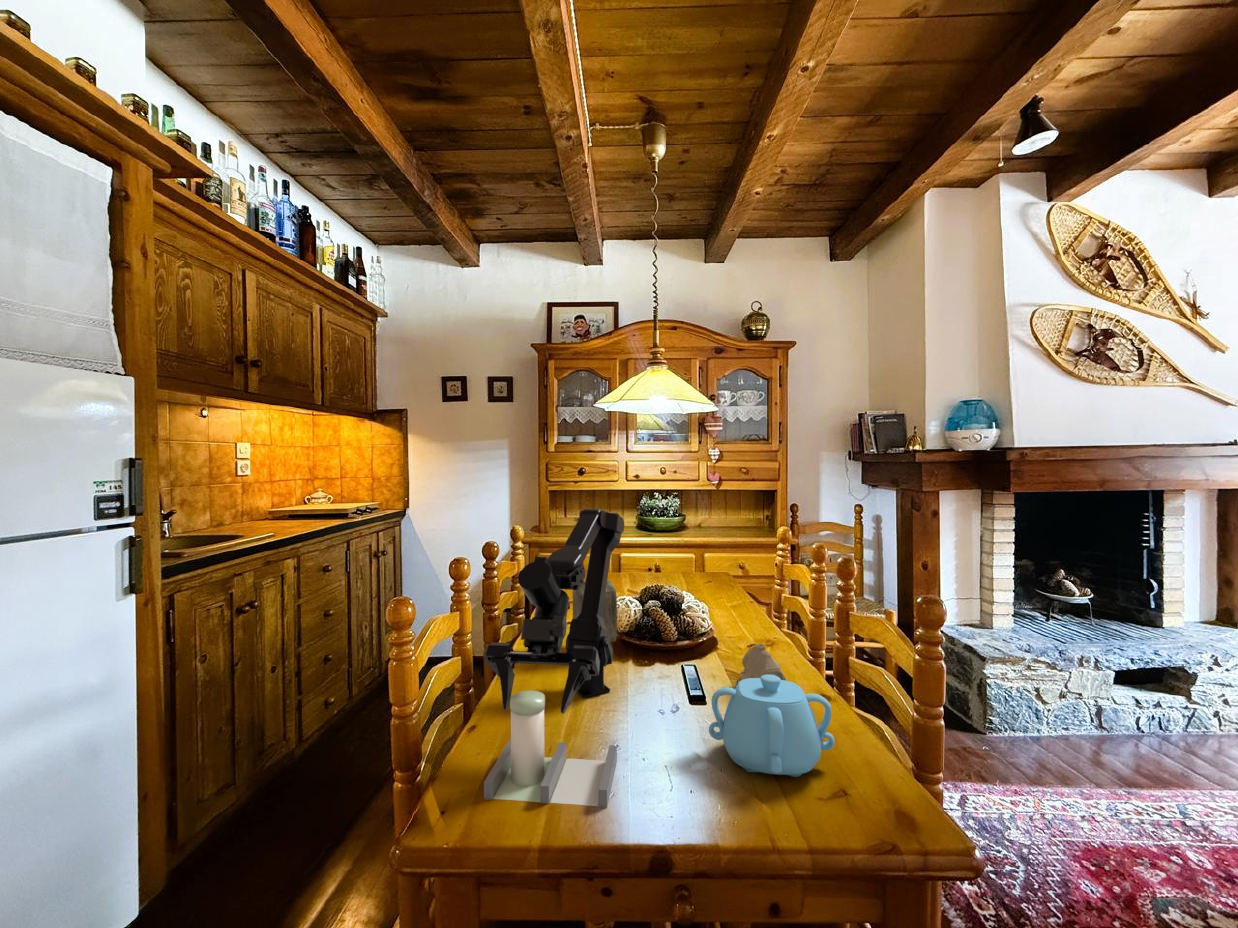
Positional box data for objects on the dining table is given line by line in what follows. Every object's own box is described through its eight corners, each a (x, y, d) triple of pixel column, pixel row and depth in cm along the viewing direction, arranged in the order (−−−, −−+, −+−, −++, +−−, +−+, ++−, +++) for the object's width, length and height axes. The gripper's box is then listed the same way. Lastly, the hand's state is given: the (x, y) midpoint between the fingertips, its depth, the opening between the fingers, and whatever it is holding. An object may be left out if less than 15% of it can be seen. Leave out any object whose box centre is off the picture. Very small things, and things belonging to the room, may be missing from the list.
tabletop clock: (617, 660, 136) (617, 558, 136) (580, 663, 134) (580, 560, 134) (604, 641, 150) (605, 549, 150) (571, 644, 148) (571, 550, 148)
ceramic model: (799, 704, 112) (800, 655, 112) (745, 706, 111) (745, 656, 111) (775, 677, 126) (775, 633, 126) (726, 679, 125) (726, 634, 125)
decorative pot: (823, 735, 99) (823, 660, 99) (848, 802, 79) (848, 708, 79) (709, 726, 102) (710, 652, 102) (707, 787, 83) (707, 697, 83)
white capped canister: (505, 772, 85) (505, 694, 85) (538, 763, 87) (537, 688, 87) (516, 790, 80) (516, 707, 80) (550, 780, 83) (550, 700, 83)
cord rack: (509, 760, 90) (509, 739, 90) (616, 767, 88) (616, 745, 88) (483, 806, 78) (483, 781, 78) (606, 815, 76) (606, 790, 76)
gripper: (487, 594, 93) (461, 687, 82) (597, 597, 91) (586, 693, 80) (502, 627, 101) (481, 715, 90) (603, 630, 99) (594, 721, 88)
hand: (533, 711), depth 87 cm, fingers open, 9 cm apart
